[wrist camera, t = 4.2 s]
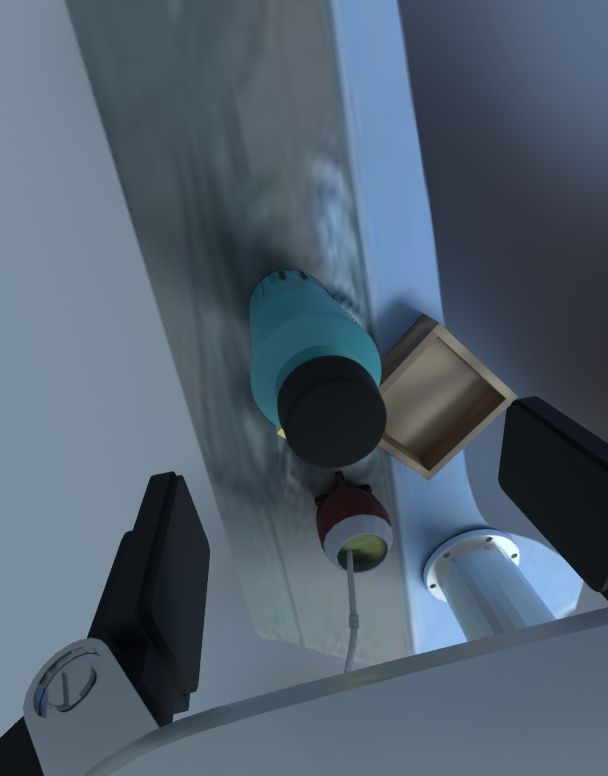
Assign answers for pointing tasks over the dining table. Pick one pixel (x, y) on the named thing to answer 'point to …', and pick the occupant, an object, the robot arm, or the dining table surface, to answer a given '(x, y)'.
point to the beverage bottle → (314, 371)
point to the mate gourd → (353, 538)
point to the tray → (435, 397)
